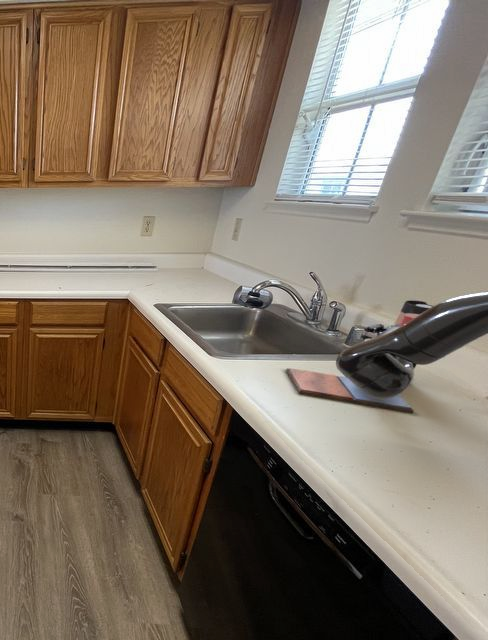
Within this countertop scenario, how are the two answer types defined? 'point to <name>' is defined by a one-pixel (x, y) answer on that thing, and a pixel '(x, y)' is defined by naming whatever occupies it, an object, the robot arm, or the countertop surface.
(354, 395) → the sorting board
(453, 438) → the countertop surface
